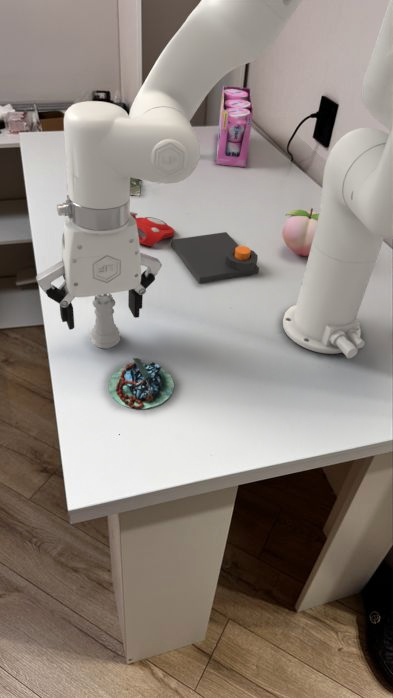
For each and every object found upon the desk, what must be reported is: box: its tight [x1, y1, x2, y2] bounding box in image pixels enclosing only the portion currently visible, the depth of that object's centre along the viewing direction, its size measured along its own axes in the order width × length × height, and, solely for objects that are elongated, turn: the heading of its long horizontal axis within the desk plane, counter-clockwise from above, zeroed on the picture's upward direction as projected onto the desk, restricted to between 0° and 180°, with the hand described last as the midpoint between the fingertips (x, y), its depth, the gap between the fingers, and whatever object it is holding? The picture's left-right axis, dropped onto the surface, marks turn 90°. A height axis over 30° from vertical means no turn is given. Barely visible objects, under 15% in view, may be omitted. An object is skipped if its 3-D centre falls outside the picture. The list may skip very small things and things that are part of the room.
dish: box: [108, 357, 175, 410], centre depth 74 cm, size 8×7×8 cm
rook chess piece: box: [90, 293, 121, 349], centre depth 78 cm, size 4×4×8 cm
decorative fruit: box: [281, 207, 319, 257], centre depth 102 cm, size 9×8×10 cm
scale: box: [170, 231, 260, 285], centre depth 100 cm, size 14×12×3 cm
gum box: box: [216, 85, 254, 168], centre depth 141 cm, size 24×8×14 cm, turn 177°
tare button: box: [235, 245, 252, 260], centre depth 97 cm, size 3×3×2 cm
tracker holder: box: [130, 211, 175, 247], centre depth 105 cm, size 12×4×10 cm
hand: (102, 317), depth 78 cm, fingers open, 9 cm apart
